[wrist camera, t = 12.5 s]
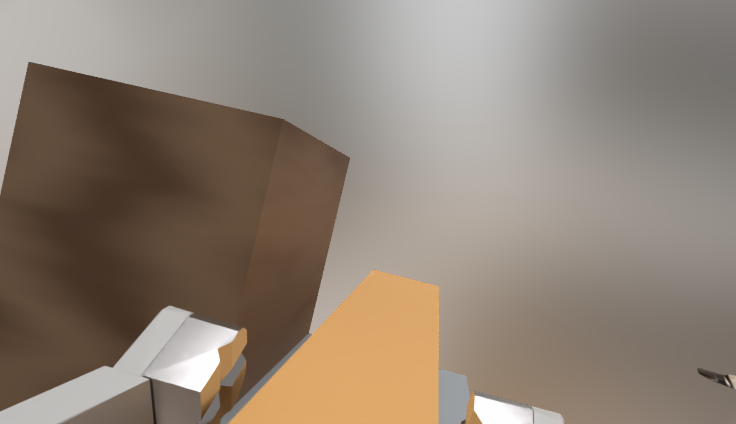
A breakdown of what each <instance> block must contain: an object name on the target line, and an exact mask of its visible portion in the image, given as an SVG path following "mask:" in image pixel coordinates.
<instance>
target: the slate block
mask: <svg viewBox="0 0 736 424" xmlns="http://www.w3.org/2000/svg"><path fill="white" fill-rule="evenodd" d="M311 335H312V334H310V333H308V334H307V335H306V336H305V337H304V338H303V339H302V340H301V341H300V342H299V343H298V344H297V345H296V346H295V347H294V348H293V349H292V350H291V351H290V352H289V353H288V354H287V355H286V356H285V357H284V358H283V359H282V360H281V361H280V362H278V363H277V364H276V365H275V366H274V367H273V368H272V369H271V370H270V371H269V372H268V373H267V374H266V375H265V376H264V377H263V378H262V379H261V380H260V381H259V382H258V383H257V384H256V385H255V386H254V387H253V388H252V389H251V390H250V391H249V392H248V393H247V394H246V395H245V396H243V397H242V398H241V399H240V400H239V401H238V402H237V403H236V404H235V405H234V406H233V407H232V409H231V410H230V411H229V412H227V413H226V414H225V415H224V416H223V417H222V418H221V419H220V424H228V423H229V422H230V421H231V420H232V419H233V418H234V417H235V416H236V415H237V413H238V412H239V411H240V410H241V409H242V408H243V407H244V406H245V405H246V404H247V403H248V402H249V401H250V400H251V399H252V398H253V397H254V396H255V394H256V393H257V392H258V391H259V390H260V389H261V388H262V387H263V386H264V385H265V384H266V383H267V382H268V381H269V380H270V379H271V378H272V376H273V375H274V374H275V373H276V372H277V371H278V370H279V369H280V368H281V367H282V366H283V365H284V364H285V363H286V362H287V361H288V360H289V359H290V357H291V356H292V355H293V354H294V353H295V352H296V351H297V350H298V349H299V348H300V347H301V346H302V345H303V344H304V343H305V342H306V341H307V340H308V338H309V337H310V336H311ZM469 399H470V395H469V390H468V384H467V378H466V376H464V375H460V374H457V373H453V372H449V371H445V370H442V369H439V424H461V421H463V420H465V419H466V412H467V404H468V402H469Z"/></svg>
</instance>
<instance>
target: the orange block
mask: <svg viewBox="0 0 736 424" xmlns="http://www.w3.org/2000/svg"><path fill="white" fill-rule="evenodd" d="M228 424H439V287H438V286H435V285H431V284H427V283H424V282H419V281H415V280H412V279H408V278H403V277H400V276H396V275H392V274H388V273H384V272H380V271H376V270H373V271H372V272H371V273H370V274H369V275H368V276H367V277H366V278H365V279H364V280H363V281H362V283H361V284H360V285H359V286H358V287H357V288H356V289H355V290H354V291H353V292H352V293H351V294H350V295H349V296H348V297H347V299H346V300H344V301H343V303H342V304H341V305H340V306H339V307H338V308H337V309H336V310H335V311H334V312H333V313H332V314H331V315H330V316H329V317H328V319H326V321H325V322H324V323H323V324H322V325H321V326H320V327H319V328H318V329H317V330H316V331H315V332H314V333H313V334H312V335H311V336H310V337H309V338H308V340H307V341H306V342H305V343H304V344H303V345H302V346H301V347H300V348H299V349H298V350H297V351H296V352H295V353H294V354H293V355H292V356H291V357H290V359H289V360H288V361H287V362H286V363H285V364H284V365H283V366H282V367H281V368H280V369H279V370H278V371H277V372H276V373H275V374H274V375H273V376H272V378H271V379H270V380H269V381H268V382H267V383H266V384H265V385H264V386H263V387H262V388H261V389H260V390H259V391H258V392H257V393H256V394H255V396H254V397H253V398H252V399H251V400H250V401H249V402H248V403H247V404H246V405H245V406H244V407H243V408H242V409H241V410H240V411H239V412H238V413H237V415H236V416H235V417H234V418H233V419H232V420H231V421H230V422H229V423H228Z"/></svg>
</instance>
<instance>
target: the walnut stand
mask: <svg viewBox="0 0 736 424" xmlns="http://www.w3.org/2000/svg"><path fill="white" fill-rule="evenodd" d="M349 160H350V158H349V157H348V156H346V155H344V154H342V153H341V152H339V151H337V150H336V149H334V148H332V147H330V146H328V145H327V144H325V143H323V142H322V141H320V140H318V139H316V138H315V137H313V136H311V135H310V134H308V133H306V132H304V131H302V130H301V129H299V128H297V127H296V126H294V125H292V124H291V123H289V122H287V121H285V120H284V119H280V118H275V117H271V116H267V115H262V114H258V113H254V112H249V111H245V110H240V109H236V108H231V107H227V106H223V105H218V104H213V103H209V102H205V101H200V100H196V99H191V98H186V97H182V96H178V95H174V94H169V93H165V92H160V91H156V90H151V89H147V88H143V87H138V86H134V85H129V84H125V83H121V82H116V81H112V80H107V79H103V78H98V77H94V76H89V75H85V74H81V73H76V72H72V71H67V70H62V69H58V68H54V67H50V66H45V65H41V64H36V63H32V62H29V63H28V68H27V72H26V77H25V81H24V86H23V91H22V95H21V100H20V105H19V110H18V114H17V119H16V124H15V128H14V133H13V138H12V143H11V147H10V152H9V157H8V161H7V166H6V171H5V175H4V180H3V185H2V189H1V194H0V411H3V410H5V409H7V408H9V407H12V406H14V405H16V404H19V403H21V402H23V401H25V400H28V399H30V398H32V397H35V396H37V395H39V394H41V393H44V392H46V391H48V390H51V389H53V388H55V387H57V386H60V385H62V384H64V383H66V382H69V381H71V380H73V379H76V378H78V377H80V376H82V375H85V374H87V373H89V372H92V371H94V370H96V369H98V368H101V367H103V366H108V367H111V368H113V367H114V365H115V364H116V363H117V362H118V361H119V359H120V358H121V357H122V356H123V355H124V354H125V352H126V351H127V350H128V349H129V348H130V346H131V345H132V344H133V343H134V342H135V341H136V339H137V338H138V337H139V336H140V335H141V333H142V332H143V331H144V330H145V329H146V328H147V326H148V325H149V324H150V323H151V322H152V320H153V319H154V318H155V317H156V316H157V315H158V313H159V312H160V311H161V310H162V309H164V308H166V307H168V306H173V307H176V308H180V309H183V310H186V311H190V312H193V313H198V314H201V315H204V316H207V317H211V318H214V319H217V320H220V321H224V322H227V323H230V324H234V325H237V326H240V327H243V328H245V329H246V330H247V344H246V346H245V347H244V349H243V351H242V352H241V353H242V355H243V356H244V358H245V359H246V372H245V377H244V382H243V385H242V387H241V390H240V393H239V396H238V398H237V400H236V402H235V404H236V403H237V402H238V401H239V400H240V399H241V398H242V397H243V396H245V395H246V394H247V393H248V392H249V391H250V390H251V389H252V388H253V387H254V386H255V385H256V384H257V383H258V382H259V381H260V380H261V379H262V378H263V377H264V376H265V375H266V374H267V373H268V372H269V371H270V370H271V369H272V368H273V367H274V366H275V365H276V364H277V363H278V362H280V361H281V360H282V359H283V358H284V357H285V356H286V355H287V354H288V353H289V352H290V351H291V350H292V349H293V348H294V347H295V346H296V345H297V344H298V343H299V342H300V341H301V340H302V339H303V338H304V337H305V336H306V335H307V334H308V333H309V329H310V325H311V321H312V317H313V313H314V308H315V304H316V300H317V296H318V291H319V287H320V283H321V279H322V275H323V270H324V266H325V262H326V257H327V253H328V249H329V245H330V241H331V236H332V232H333V227H334V223H335V219H336V215H337V211H338V207H339V202H340V198H341V194H342V190H343V185H344V181H345V177H346V173H347V168H348V164H349ZM235 404H234V405H235ZM225 414H226V413H225ZM225 414H223V415H221V416H220V419H221V418H222V417H223V416H224V415H225Z"/></svg>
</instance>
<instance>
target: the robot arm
mask: <svg viewBox="0 0 736 424" xmlns="http://www.w3.org/2000/svg"><path fill="white" fill-rule="evenodd" d="M246 344H247V330H246V329H245V328H243V327H240V326H237V325H234V324H230V323H227V322H224V321H220V320H217V319H214V318H211V317H207V316H204V315H201V314H198V313H193V312H190V311H186V310H183V309H180V308H176V307H173V306H168V307H166V308H164V309H162V310H161V311H160V312H159V313H158V315H157V316H156V317H155V318H154V319H153V320H152V322H151V323H150V324H149V325H148V326H147V328H146V329H145V330H144V331H143V332H142V333H141V335H140V336H139V337H138V338H137V339H136V341H135V342H134V343H133V344H132V345H131V346H130V348H129V349H128V350H127V351H126V352H125V354H124V355H123V356H122V357H121V358H120V359H119V361H118V362H117V363H116V364H115V365H114V367H113V368H111V367H108V366H103V367H101V368H98V369H96V370H94V371H92V372H89V373H87V374H85V375H82V376H80V377H78V378H76V379H73V380H71V381H69V382H66V383H64V384H62V385H60V386H57V387H55V388H53V389H51V390H48V391H46V392H44V393H41V394H39V395H37V396H35V397H32V398H30V399H28V400H25V401H23V402H21V403H19V404H16V405H14V406H12V407H9V408H7V409H5V410H3V411H0V424H220V416H221V415H223V414H225V413H227V412H229V411H230V410H231V409H232V407H233V406H234V404H235V402H236V400H237V398H238V396H239V393H240V390H241V387H242V385H243V382H244V377H245V372H246V359H245V358H244V356H243V355H242V353H241V352H242V351H243V349H244V347H245V346H246ZM461 424H564V419H563V418H562V416H561V414H558V413H555V412H551V411H547V410H544V409H540V408H536V407H532V406H531V407H529V405H526V404H522V403H518V402H515V401H511V400H507V399H503V398H499V397H496V396H492V395H488V394H484V393H480V392H477V391H473V392H472V394H471V396H470V399H469V402H468V404H467V412H466V419H465V420H463V421H461Z"/></svg>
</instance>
